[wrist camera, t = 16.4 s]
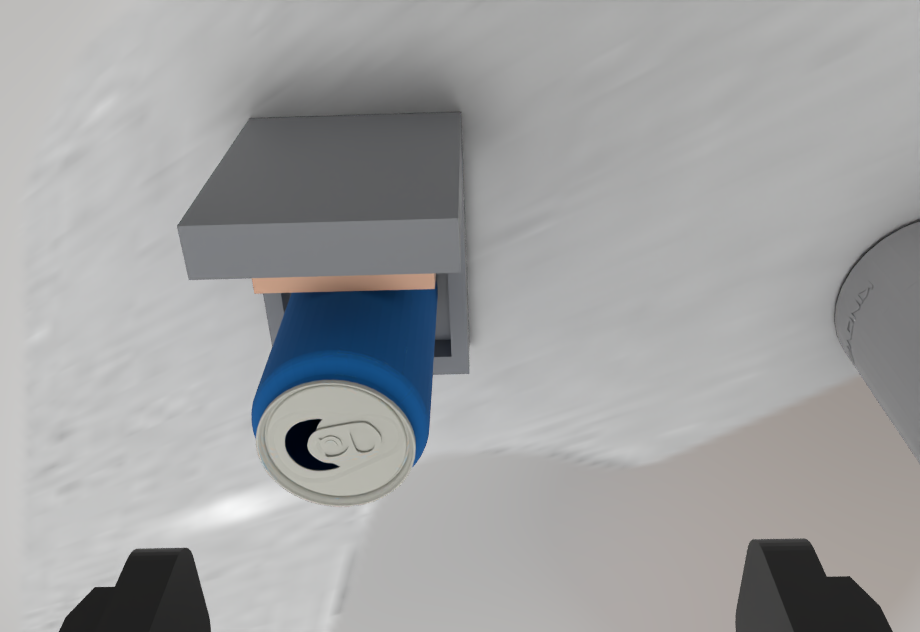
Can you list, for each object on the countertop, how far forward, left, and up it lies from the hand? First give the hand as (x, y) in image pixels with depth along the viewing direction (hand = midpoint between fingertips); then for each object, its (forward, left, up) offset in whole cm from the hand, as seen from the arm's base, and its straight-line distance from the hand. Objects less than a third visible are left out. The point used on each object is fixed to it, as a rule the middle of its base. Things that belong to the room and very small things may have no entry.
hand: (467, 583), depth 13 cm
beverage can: (+5, +10, -27) cm, 29 cm away
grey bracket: (+5, +8, -28) cm, 30 cm away
